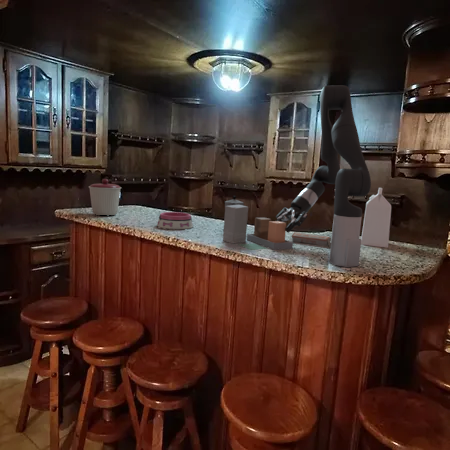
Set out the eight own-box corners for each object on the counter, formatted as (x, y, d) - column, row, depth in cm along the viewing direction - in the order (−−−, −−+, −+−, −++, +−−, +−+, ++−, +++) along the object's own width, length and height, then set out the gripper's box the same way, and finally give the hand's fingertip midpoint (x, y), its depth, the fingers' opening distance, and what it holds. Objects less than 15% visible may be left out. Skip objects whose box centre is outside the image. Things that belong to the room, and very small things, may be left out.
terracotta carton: (284, 247, 152) (286, 223, 151) (274, 247, 150) (276, 223, 148) (277, 244, 157) (278, 221, 155) (267, 245, 154) (269, 221, 153)
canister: (102, 218, 204) (102, 179, 201) (81, 214, 214) (81, 177, 210) (127, 215, 219) (128, 179, 216) (107, 212, 229) (107, 177, 225)
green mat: (267, 249, 148) (267, 248, 148) (250, 251, 144) (250, 249, 144) (254, 244, 156) (254, 243, 156) (237, 245, 153) (237, 244, 153)
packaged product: (332, 235, 164) (328, 239, 155) (331, 246, 165) (327, 250, 156) (293, 230, 172) (286, 233, 163) (292, 240, 172) (285, 244, 164)
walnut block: (269, 242, 161) (271, 219, 160) (259, 242, 159) (261, 219, 157) (262, 239, 166) (264, 217, 164) (253, 240, 163) (255, 217, 162)
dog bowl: (196, 230, 184) (196, 216, 183) (157, 230, 179) (158, 216, 178) (190, 224, 202) (190, 211, 201) (155, 223, 197) (155, 211, 196)
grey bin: (292, 249, 151) (292, 242, 151) (273, 250, 147) (274, 243, 146) (264, 239, 169) (264, 233, 168) (246, 240, 164) (247, 234, 164)
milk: (388, 247, 167) (395, 189, 163) (360, 244, 171) (367, 187, 167) (386, 242, 178) (393, 188, 174) (361, 240, 182) (367, 186, 178)
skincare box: (235, 239, 165) (237, 204, 162) (247, 242, 160) (249, 206, 157) (221, 241, 159) (223, 204, 156) (233, 244, 154) (235, 206, 151)
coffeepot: (241, 235, 177) (244, 197, 174) (221, 234, 177) (223, 196, 174) (242, 230, 192) (244, 195, 189) (224, 228, 192) (226, 194, 190)
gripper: (289, 193, 161) (265, 220, 157) (311, 196, 149) (286, 226, 145) (297, 205, 164) (274, 232, 161) (320, 210, 152) (295, 238, 149)
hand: (280, 229), depth 153 cm, fingers open, 8 cm apart
